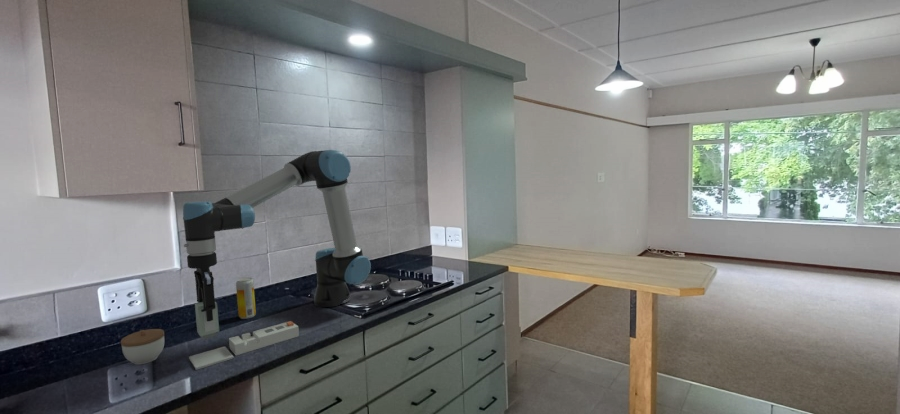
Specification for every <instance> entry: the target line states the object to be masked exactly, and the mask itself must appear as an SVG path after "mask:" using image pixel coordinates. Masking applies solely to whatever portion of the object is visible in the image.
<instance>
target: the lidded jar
mask: <svg viewBox="0 0 900 414" xmlns="http://www.w3.org/2000/svg"><path fill="white" fill-rule="evenodd" d="M120 345H121V351H122V354H123V356H124V358H125V359H126V360H127V361H128V362H131V363H132V364H134V365H145V364H149V363H152V362H153V361H155V360H157V359H158V357H159V355H160V354H161V353H162V351H163V350H164V346H165V331H164V329H161V328H160V329H159V328H151V329H142V330H141V329H140V330H139V331H135V332H133V333H130V334H128V335H126V336H124V337H122V338H121V340H120Z"/></svg>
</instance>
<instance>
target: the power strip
mask: <svg viewBox="0 0 900 414" xmlns="http://www.w3.org/2000/svg"><path fill="white" fill-rule="evenodd" d="M299 330H300V329H299V325H297V324H296V323H294V322H293V321H292V320H289V321H285V322H282V323H278V324H274V325H271V326H268V327H263V328H260V329H257V330H253V331H252V336H251V333H250V332H245V333H243V334H241V337H240V336H239V335H236V336H231V337H229V338H228V343H229V344H228V346H229V350H231V351H230V352H232V353H233V354H234V355H235V356H239V355H242V354H246V353H249V352H252V351H255V350H258V349H262V348H265V347H269V346H272V345H274V344H278V343H281V342H285V341H289V340H290V339H294V338H297V337H299V336H300V331H299Z"/></svg>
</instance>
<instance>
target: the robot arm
mask: <svg viewBox="0 0 900 414" xmlns="http://www.w3.org/2000/svg"><path fill="white" fill-rule="evenodd" d="M351 169H352V168H351V163H350V160H349V158H348V156H346V154H344V153H343V152H341V151H340V150H337V149H336V150H334V149H325V150H318V151H317V150H315V151H313V150H312V151H309V152H306V153H304V154H301V155H300V156H298V157H296V158H294V159H293V160H291V161H289V162H287V163H285V164H284V166H283V168H281V169H279V170H276V171H275V172H274V173H271V174H269V175H267V176H265V177H264V178H261V179H259V180H258V181H255V182H254V183H253V182H252V184H250V185H247V186H246V187H244V188H241V189H239V190H238V191H236V192H234V193H232V194H229V195H228V196H225V197H224V198H222V199H220V200H218V201H216V202H212V201H210V200H207V201H205V200H204V201H202V200H201V201H189V202H188V201H187V202H186V203H184V204H183V208H182V214H183V215H182V216H183V217H182V220H183V227H184V235H185V236H184V237H185V243H184V244H183V247H184V248H186V254H188V255H187V256H186V258H187V259H186V260H187V261H186V262H187V268H189V269H194V271H193V274H194V279H195V280H194V281H195V291H196V292H195V293H196V303H199V302H203V306H204V309H203V310H201V312H203V317H204V329H205V332H208V331H212V330H215V318H214V309H215V307H216V306H215V302H216V300H215V299H216V298H215V288H214V287H215V285H214V280H215V278H214V276H213V271H211V270H210V267H214V266H216V265H217V264H218V260H217V259H218V257H217V253H216V252H215V251H216V250H217V245H216V244H217V243H216V235H215V232H220V231H230V230H240V229H241V230H242V229H245V228H250V227H252V226H253V225H254V224H255V222H256V221H255V220H256V213H255V211H254V208H255V207H257V206H259V205H261V204H263V203H264V202H266V201H268V200H270V199H272V198H273V197H276V196H277V195H280V194H281V193H283V192H284V191H287V190H288V189H290V188H291V187H294V186H296V187H299V186H301V185H303V184H305V183H309V182H315V184H316V189H318V190H319V191H320V192H321V193H322V195H323V196H322V197H323V201H324V206H325V210H326V215H327V218H328V222H329V227H330V231H331V236H332V237H331V238H332V240H333V246H334V247H329V248H325V249H320V250H318V251H316V253H315V260H314V261H315V270H316V271H315V272H316V284H317V285H316V288H315V293H314V297H313V304H314V305H315V306H317V307H322V308H331V307H333V308H334V307H338V305H339V306H341V305H340V304H341V303H342V302H343V301H344V300H346V299H348V298H349V297H350V298H351V293H350V290H349V287H348V284H349V285H359V284H361V283H364V281H365V280H366V279H368V277H369V275H370V272H371V269H372V267H371V266H372V264H371V261H370V259H369V258H368V257H367V256H365V255H364V253H363V249H362V247H361V246H360V245H359V244H358V243H357V239H356V235H355V230H354V229H355V228H354V224H353V219H352V215H351V211H350V206H349V202H348V196H347V192H346V186H347V185H348V183H349V182H348V178H349V176H350V173H351ZM195 269H196V270H195Z"/></svg>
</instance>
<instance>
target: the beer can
mask: <svg viewBox="0 0 900 414" xmlns="http://www.w3.org/2000/svg"><path fill="white" fill-rule="evenodd" d="M235 286H236V287H235V288H236V300H237V302H236V303H237V312H238V317H239V318H240V319H241V320H247V319H251V318H254V317H255V316H256V314H257V311H256V309H257V308H256V299H255V298H256V297H255V285H254V279H253V278H252V277H241V278H238V279H237V280H236V283H235Z"/></svg>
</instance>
